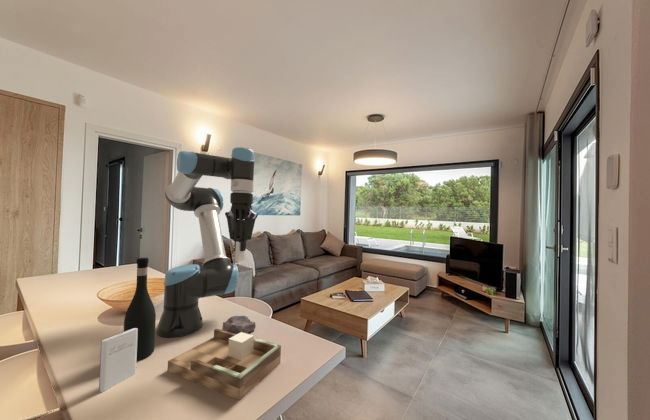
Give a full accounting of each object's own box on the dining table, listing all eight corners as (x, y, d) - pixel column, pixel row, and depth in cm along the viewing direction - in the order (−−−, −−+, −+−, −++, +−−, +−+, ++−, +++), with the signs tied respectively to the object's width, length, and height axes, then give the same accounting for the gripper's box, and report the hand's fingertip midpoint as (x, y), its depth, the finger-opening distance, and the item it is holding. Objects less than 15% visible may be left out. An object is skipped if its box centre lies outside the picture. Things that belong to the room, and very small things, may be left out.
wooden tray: (167, 371, 73) (168, 350, 73) (215, 344, 88) (216, 327, 88) (239, 402, 62) (240, 377, 62) (280, 365, 78) (281, 345, 78)
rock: (247, 337, 93) (247, 324, 93) (219, 334, 95) (219, 321, 96) (258, 328, 101) (258, 315, 101) (232, 325, 103) (232, 313, 104)
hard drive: (98, 391, 64) (100, 340, 65) (132, 372, 72) (134, 327, 72) (102, 392, 64) (104, 341, 64) (136, 374, 71) (138, 328, 72)
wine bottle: (116, 359, 78) (120, 258, 79) (142, 346, 86) (146, 255, 86) (134, 365, 75) (138, 261, 76) (160, 351, 83) (163, 257, 84)
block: (241, 360, 74) (228, 356, 76) (253, 352, 79) (240, 348, 81) (242, 342, 74) (228, 338, 76) (253, 335, 79) (241, 332, 81)
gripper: (219, 191, 91) (217, 260, 90) (249, 191, 85) (246, 264, 85) (235, 193, 97) (233, 257, 97) (263, 193, 92) (261, 260, 91)
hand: (239, 260), depth 91 cm, fingers closed
